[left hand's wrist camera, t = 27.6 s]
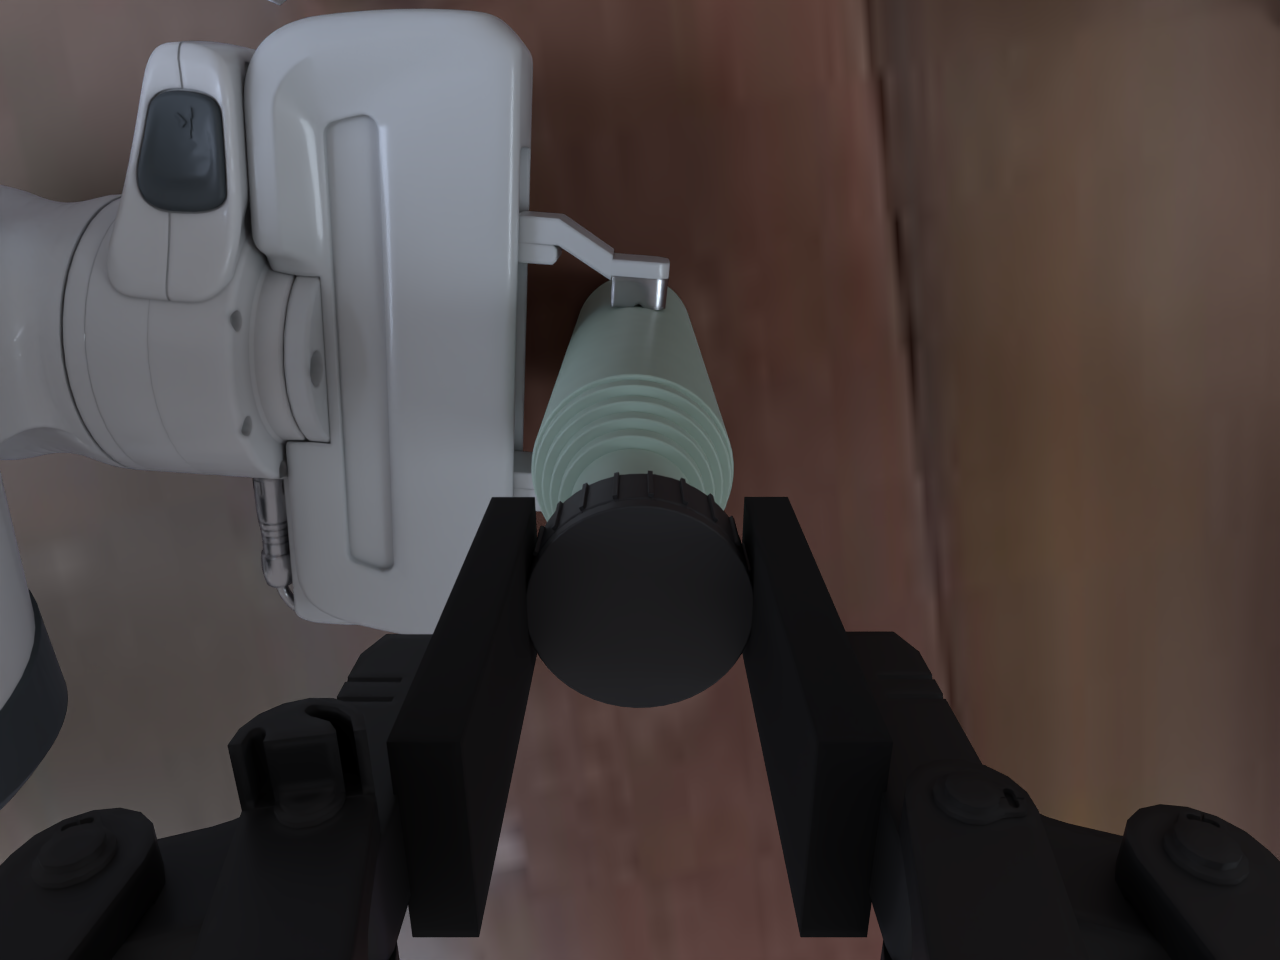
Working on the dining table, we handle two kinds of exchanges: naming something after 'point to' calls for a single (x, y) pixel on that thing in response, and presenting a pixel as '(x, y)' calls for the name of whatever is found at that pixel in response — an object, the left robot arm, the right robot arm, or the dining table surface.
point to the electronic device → (277, 1)
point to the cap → (639, 591)
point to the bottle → (631, 405)
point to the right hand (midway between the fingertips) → (660, 373)
